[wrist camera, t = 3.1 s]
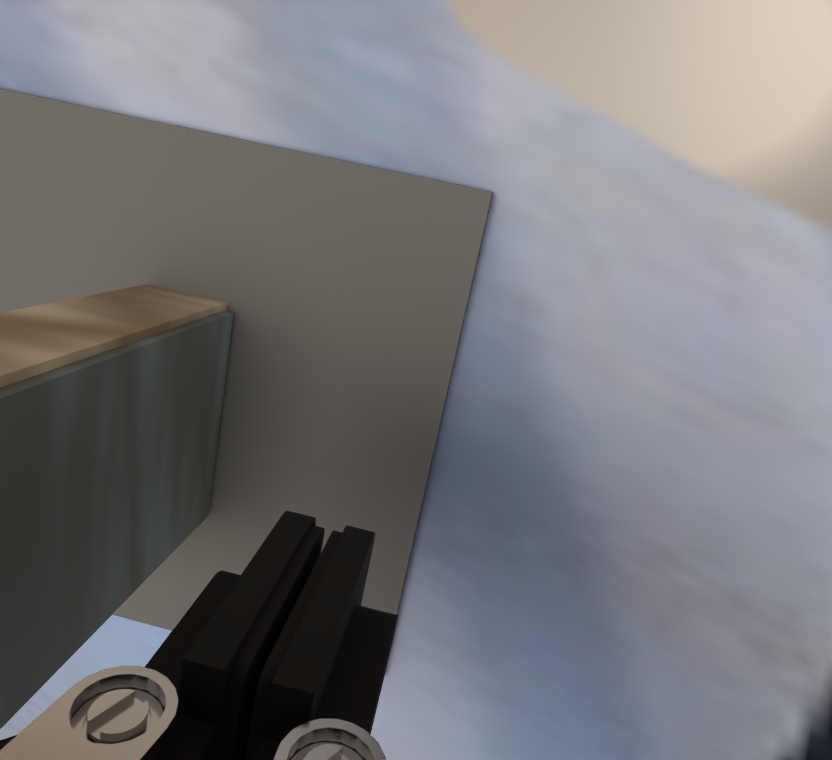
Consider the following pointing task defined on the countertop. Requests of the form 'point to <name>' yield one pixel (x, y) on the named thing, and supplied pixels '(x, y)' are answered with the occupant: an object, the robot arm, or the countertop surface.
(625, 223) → the countertop surface
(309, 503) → the mat
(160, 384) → the card box
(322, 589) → the robot arm
